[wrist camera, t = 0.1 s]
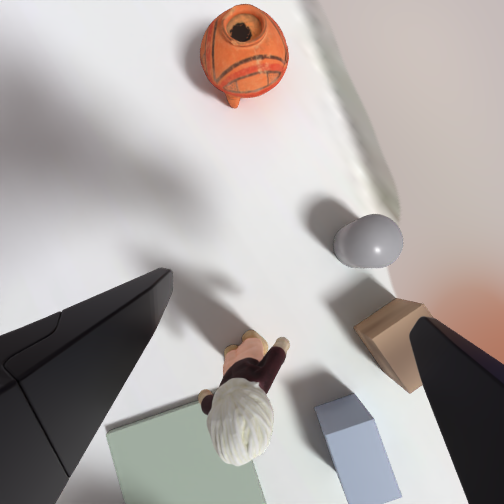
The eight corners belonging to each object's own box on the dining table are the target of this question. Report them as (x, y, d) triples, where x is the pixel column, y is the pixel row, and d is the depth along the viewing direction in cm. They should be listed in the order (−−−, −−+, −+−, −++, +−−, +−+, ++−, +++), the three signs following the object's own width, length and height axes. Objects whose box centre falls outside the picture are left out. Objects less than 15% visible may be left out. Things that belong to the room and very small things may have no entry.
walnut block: (426, 342, 23) (461, 357, 19) (383, 372, 23) (409, 393, 19) (395, 298, 24) (423, 303, 20) (352, 327, 23) (372, 339, 19)
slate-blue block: (376, 456, 23) (402, 497, 19) (335, 470, 23) (352, 514, 19) (353, 392, 23) (373, 418, 19) (313, 406, 23) (325, 435, 19)
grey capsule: (385, 259, 24) (411, 257, 20) (342, 274, 24) (359, 275, 20) (369, 217, 24) (391, 206, 20) (326, 231, 24) (340, 224, 20)
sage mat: (271, 519, 22) (271, 526, 22) (146, 561, 22) (143, 569, 22) (229, 389, 23) (228, 392, 22) (109, 430, 23) (105, 434, 22)
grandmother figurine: (236, 392, 23) (210, 543, 10) (207, 363, 23) (147, 476, 11) (291, 333, 23) (332, 409, 11) (262, 305, 24) (268, 347, 11)
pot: (186, 82, 25) (175, 0, 19) (244, 51, 27) (252, -32, 21) (237, 137, 24) (244, 72, 18) (292, 101, 26) (317, 31, 20)
